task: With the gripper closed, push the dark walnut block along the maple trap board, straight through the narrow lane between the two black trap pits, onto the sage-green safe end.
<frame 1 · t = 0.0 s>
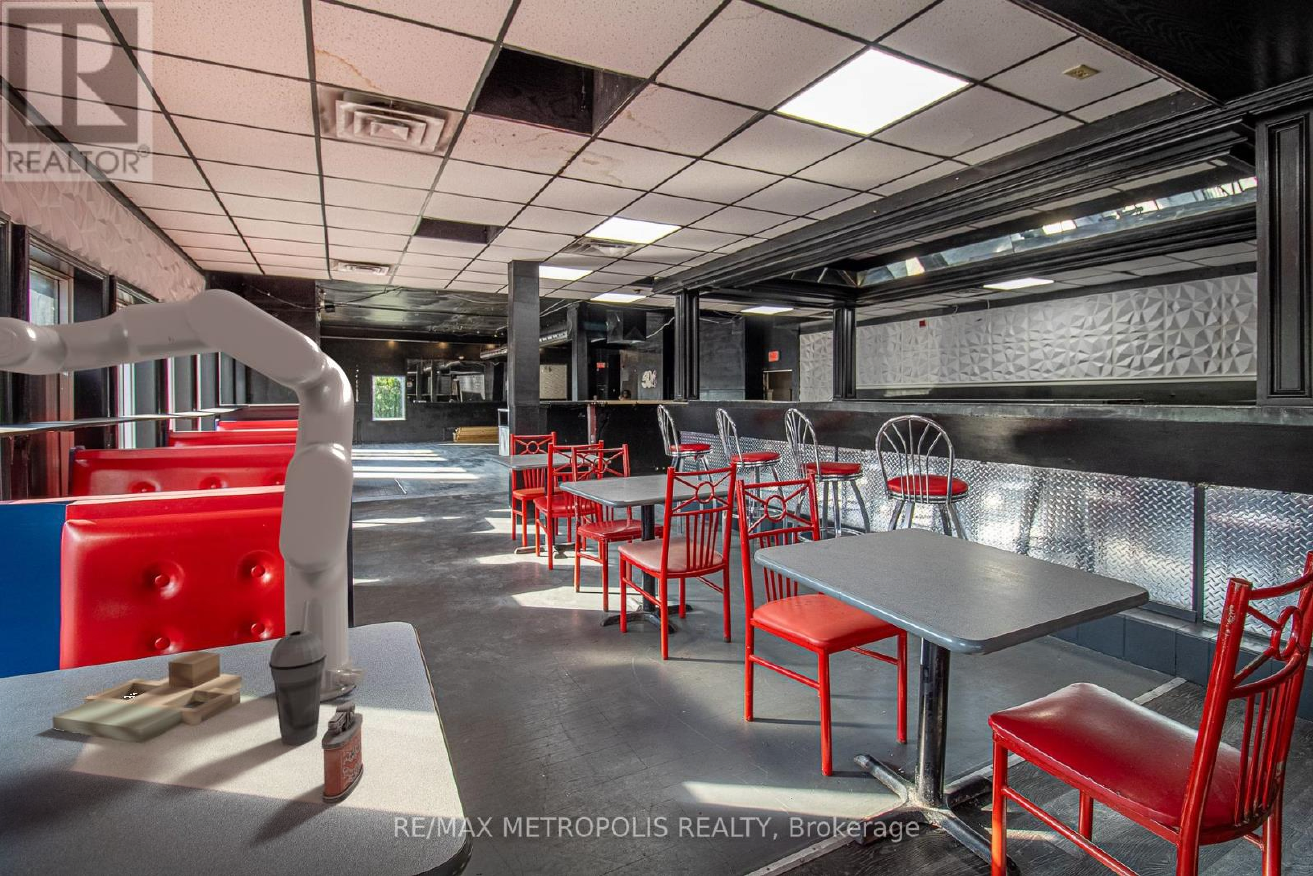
beverage cup: (299, 739, 94), on the table
lighter: (344, 787, 81), on the table
trap board: (160, 708, 103), on the table
walnut block: (194, 680, 109), point 2 cm above the table, touching trap board
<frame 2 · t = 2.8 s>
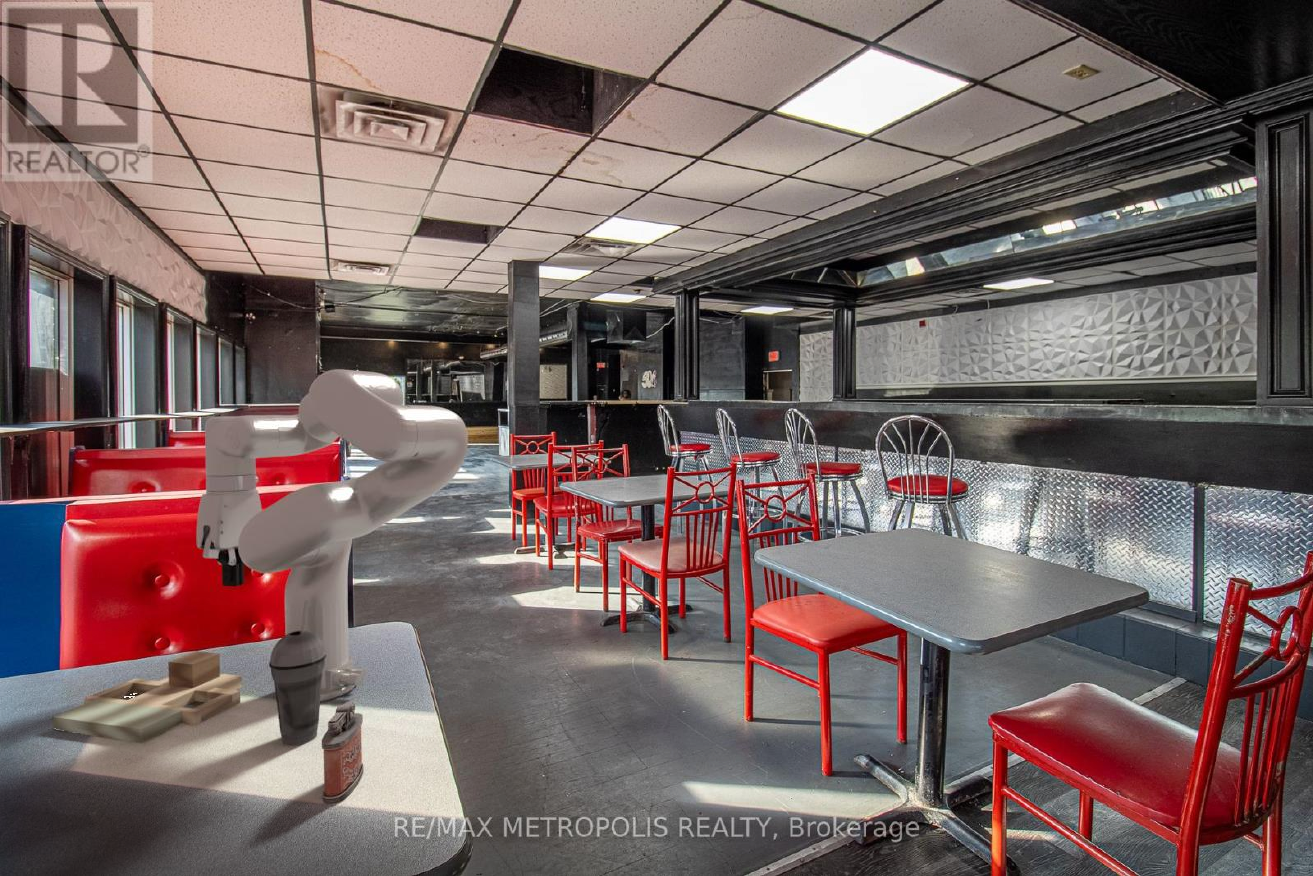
hand: (233, 585, 117), 16 cm above the table, tool pointing down, fingers closed
nothing on the table moved.
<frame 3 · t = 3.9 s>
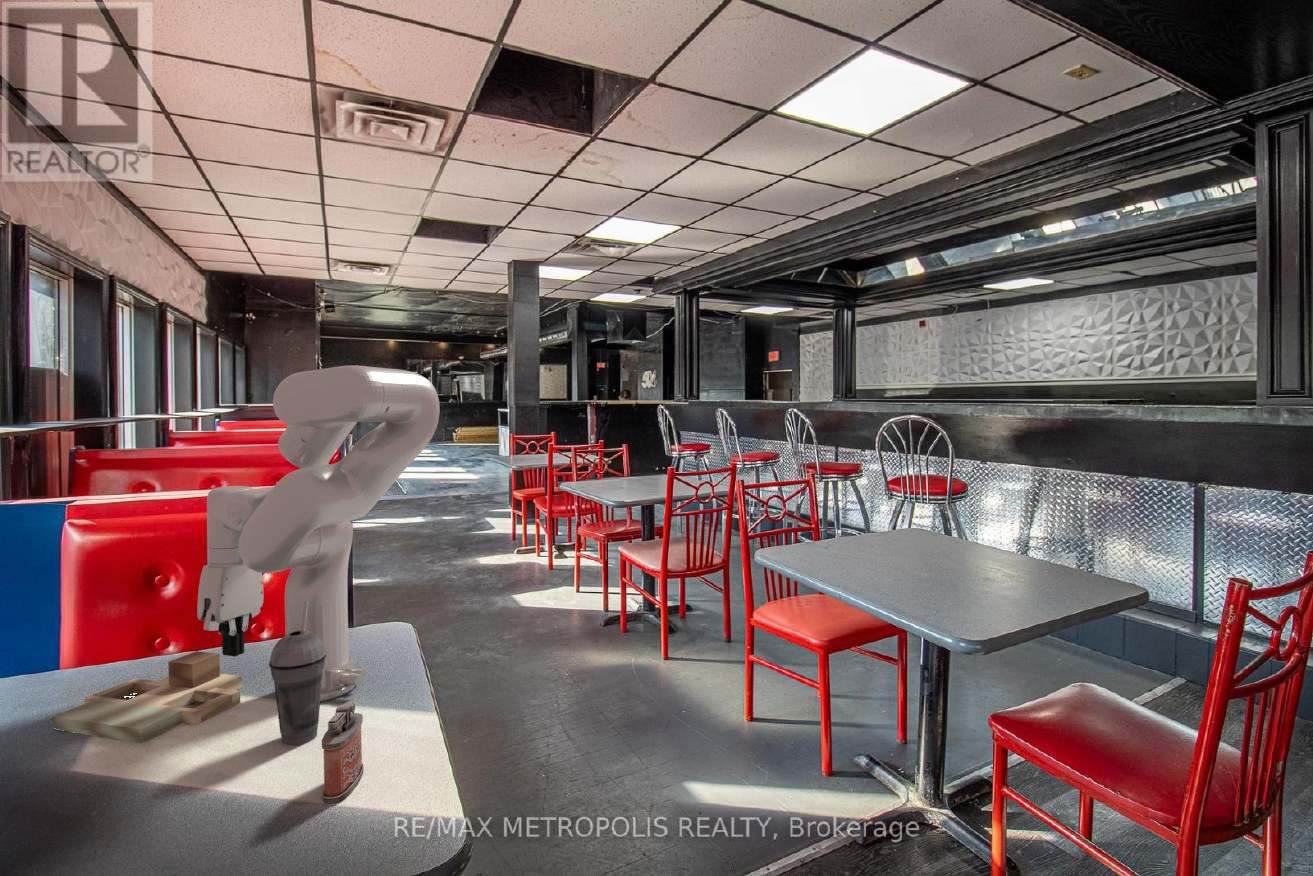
hand: (233, 654, 117), 4 cm above the table, tool pointing down, fingers closed
nothing on the table moved.
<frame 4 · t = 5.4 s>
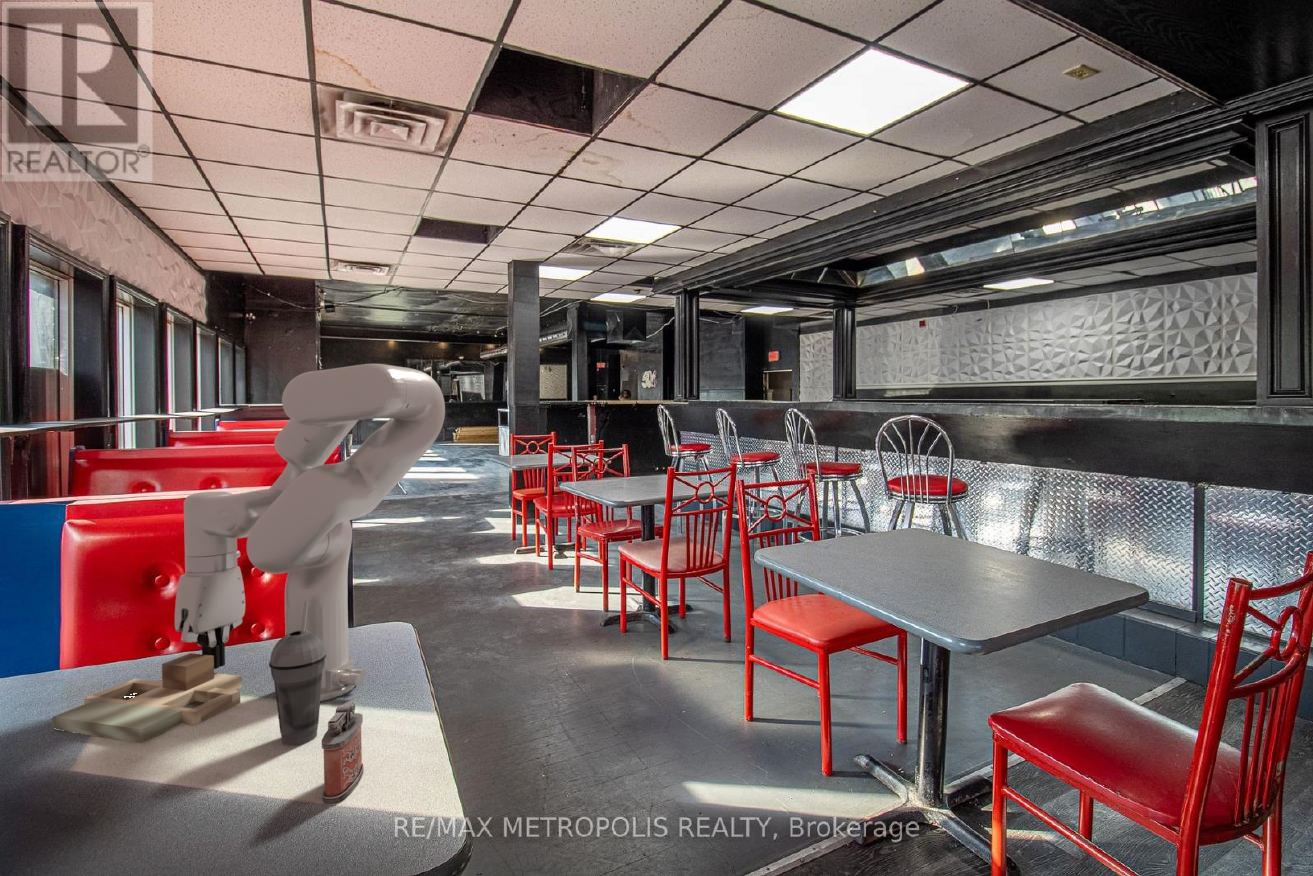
hand: (213, 666, 113), 3 cm above the table, tool pointing down, fingers closed
walnut block: (188, 683, 108), point 2 cm above the table, touching gripper
everything else where it was.
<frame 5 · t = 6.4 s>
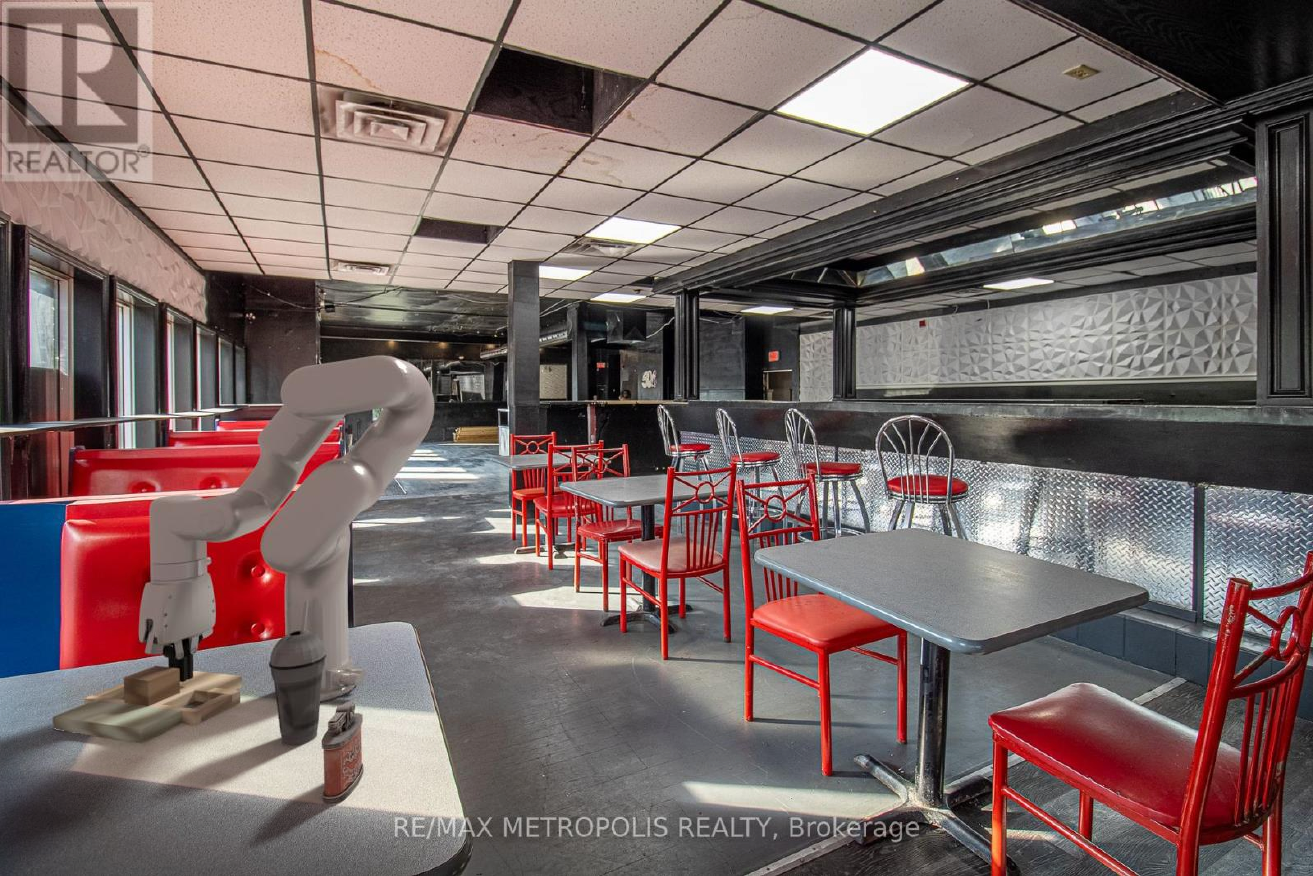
hand: (181, 679, 107), 3 cm above the table, tool pointing down, fingers closed
walnut block: (152, 697, 103), point 2 cm above the table, touching gripper, trap board
everything else where it was.
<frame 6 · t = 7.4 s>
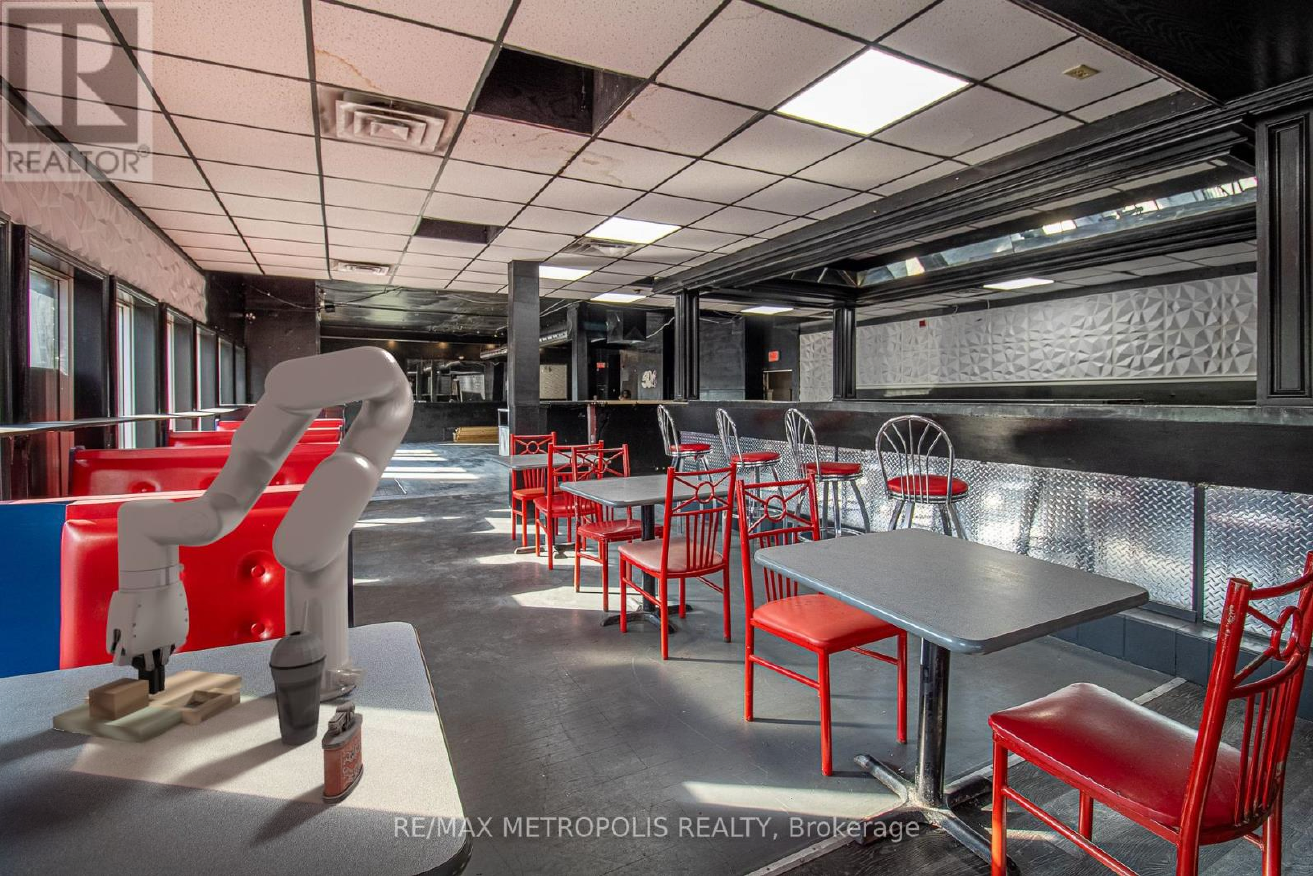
hand: (152, 691, 102), 3 cm above the table, tool pointing down, fingers closed
walnut block: (119, 711, 98), point 2 cm above the table, touching gripper
everything else where it was.
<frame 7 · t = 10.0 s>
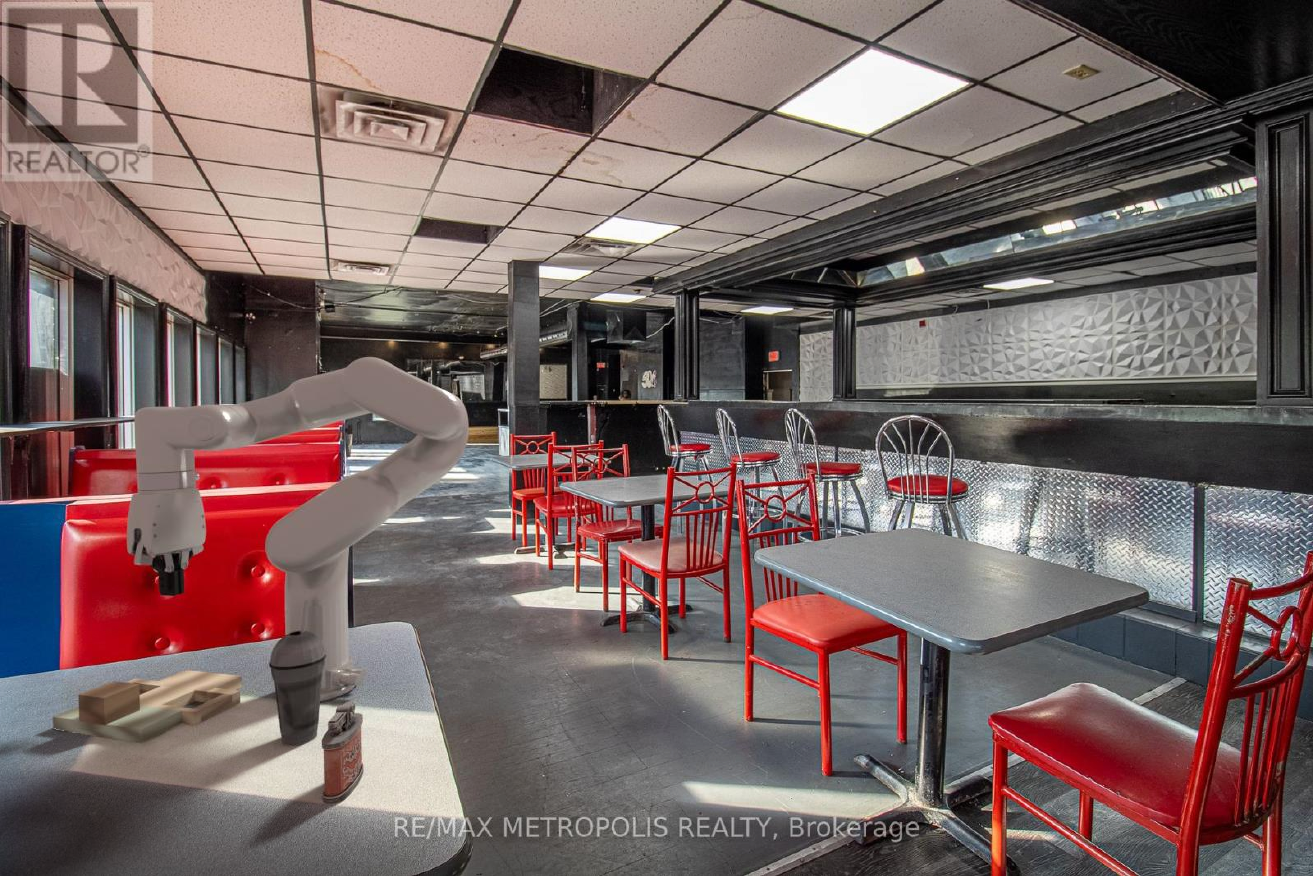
hand: (172, 594, 105), 18 cm above the table, tool pointing down, fingers closed
walnut block: (110, 715, 96), point 2 cm above the table, touching trap board
everything else where it was.
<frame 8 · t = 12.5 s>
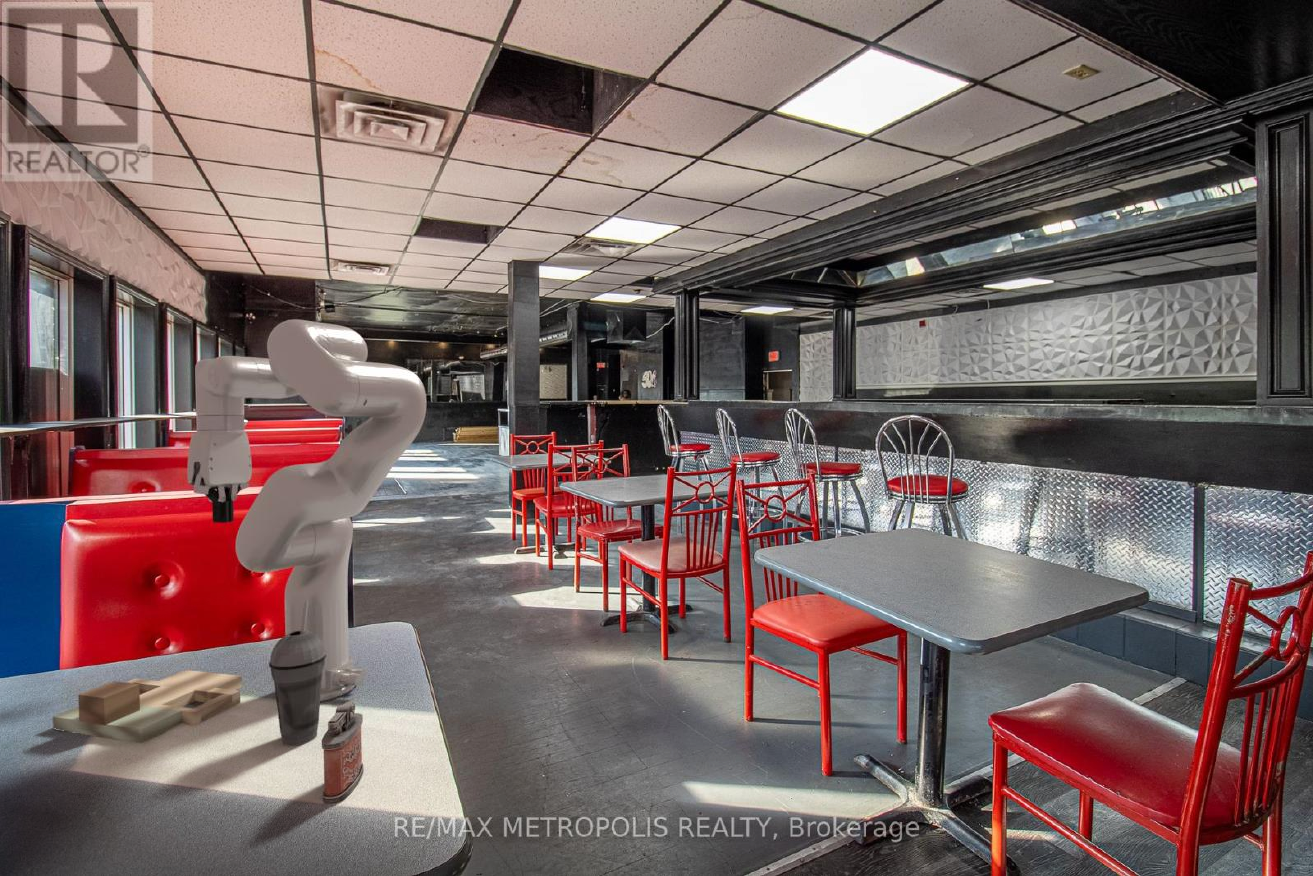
hand: (223, 521, 122), 27 cm above the table, tool pointing down, fingers closed
nothing on the table moved.
at the end: walnut block 0.6 cm from the target spot on the trap board, point 2.0 cm above the trap board's base; walnut block tilted 0° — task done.
